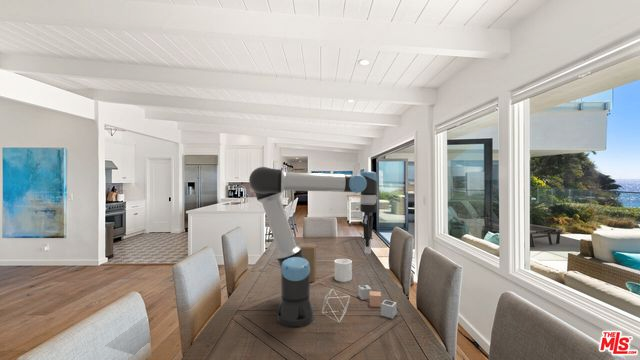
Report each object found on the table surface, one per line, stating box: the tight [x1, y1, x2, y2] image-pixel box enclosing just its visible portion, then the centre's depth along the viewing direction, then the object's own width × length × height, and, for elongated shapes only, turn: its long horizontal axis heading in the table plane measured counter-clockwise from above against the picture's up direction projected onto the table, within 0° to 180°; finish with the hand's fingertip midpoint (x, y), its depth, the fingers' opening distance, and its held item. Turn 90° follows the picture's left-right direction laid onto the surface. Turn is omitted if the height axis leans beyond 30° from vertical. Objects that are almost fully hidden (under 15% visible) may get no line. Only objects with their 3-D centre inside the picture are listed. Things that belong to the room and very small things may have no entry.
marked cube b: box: [357, 284, 372, 301], centre depth 135 cm, size 5×5×5 cm
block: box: [297, 242, 317, 283], centre depth 159 cm, size 10×10×20 cm
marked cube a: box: [380, 299, 398, 320], centre depth 117 cm, size 5×5×5 cm
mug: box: [334, 258, 353, 283], centre depth 161 cm, size 13×10×10 cm
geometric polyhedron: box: [321, 288, 351, 323], centre depth 117 cm, size 12×11×9 cm
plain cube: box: [369, 290, 382, 308], centre depth 127 cm, size 5×5×5 cm
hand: (367, 252), depth 133 cm, fingers closed
